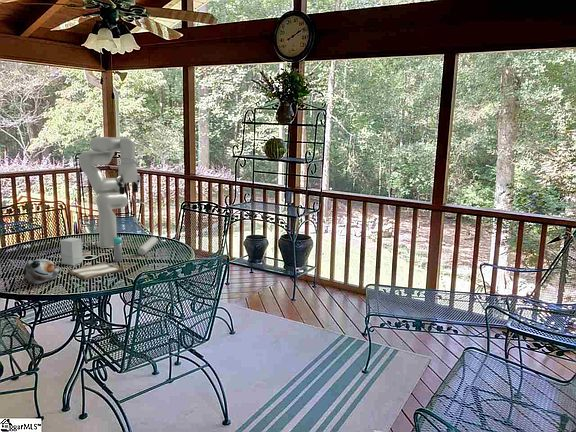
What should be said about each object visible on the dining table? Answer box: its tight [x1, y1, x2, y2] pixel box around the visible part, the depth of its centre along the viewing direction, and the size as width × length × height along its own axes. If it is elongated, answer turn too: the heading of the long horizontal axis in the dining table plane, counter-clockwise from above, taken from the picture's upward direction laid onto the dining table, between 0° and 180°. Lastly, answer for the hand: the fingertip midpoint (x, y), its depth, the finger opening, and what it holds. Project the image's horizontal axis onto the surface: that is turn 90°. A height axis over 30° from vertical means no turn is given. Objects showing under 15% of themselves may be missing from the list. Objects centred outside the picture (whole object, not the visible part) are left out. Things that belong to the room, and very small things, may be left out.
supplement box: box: [60, 237, 84, 266], centre depth 250 cm, size 7×7×13 cm
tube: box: [137, 236, 159, 256], centre depth 281 cm, size 5×5×25 cm
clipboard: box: [67, 262, 125, 281], centre depth 238 cm, size 16×20×2 cm
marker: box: [113, 236, 123, 263], centre depth 257 cm, size 4×4×12 cm
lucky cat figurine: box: [23, 258, 61, 285], centre depth 221 cm, size 15×12×14 cm
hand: (128, 193), depth 263 cm, fingers open, 9 cm apart
